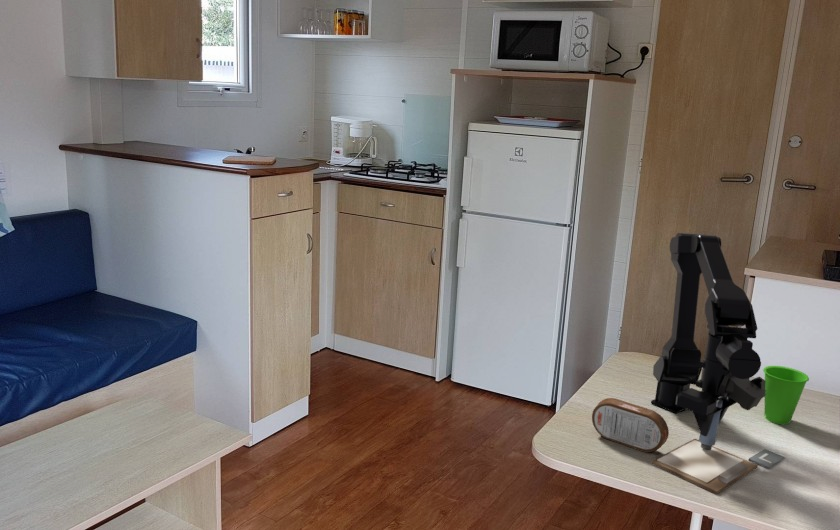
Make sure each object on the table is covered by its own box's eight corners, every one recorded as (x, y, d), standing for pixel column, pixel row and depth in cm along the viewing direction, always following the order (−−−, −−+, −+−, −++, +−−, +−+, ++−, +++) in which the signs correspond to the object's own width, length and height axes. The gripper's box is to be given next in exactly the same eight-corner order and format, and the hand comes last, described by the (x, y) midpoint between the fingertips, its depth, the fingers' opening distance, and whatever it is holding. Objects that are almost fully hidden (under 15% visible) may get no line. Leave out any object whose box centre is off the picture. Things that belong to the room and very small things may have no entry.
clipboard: (651, 463, 136) (652, 456, 136) (694, 441, 147) (695, 434, 146) (716, 494, 127) (717, 486, 127) (757, 468, 137) (759, 460, 137)
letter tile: (748, 460, 140) (748, 458, 140) (764, 450, 144) (764, 448, 144) (768, 469, 137) (769, 466, 137) (784, 458, 142) (785, 456, 141)
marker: (694, 446, 142) (702, 398, 139) (702, 442, 144) (710, 394, 141) (709, 453, 139) (717, 404, 137) (717, 448, 141) (725, 400, 139)
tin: (666, 453, 141) (672, 414, 139) (661, 459, 138) (667, 419, 136) (593, 429, 149) (598, 392, 147) (587, 434, 147) (592, 396, 145)
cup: (805, 431, 154) (815, 383, 152) (760, 425, 156) (769, 378, 153) (793, 413, 163) (802, 368, 160) (750, 408, 165) (758, 363, 162)
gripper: (738, 383, 125) (724, 464, 129) (784, 362, 137) (770, 436, 141) (680, 363, 133) (668, 439, 137) (728, 345, 145) (716, 416, 149)
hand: (708, 433), depth 141 cm, fingers closed on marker, 3 cm apart
